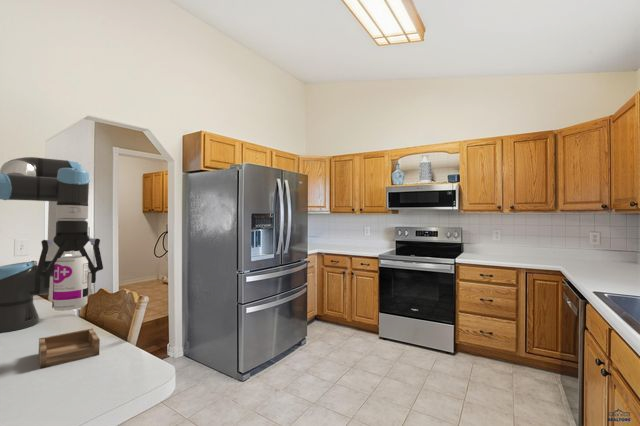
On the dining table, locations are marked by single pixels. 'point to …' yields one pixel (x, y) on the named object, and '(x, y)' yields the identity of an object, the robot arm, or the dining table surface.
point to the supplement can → (70, 283)
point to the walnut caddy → (68, 347)
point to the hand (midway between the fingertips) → (70, 296)
